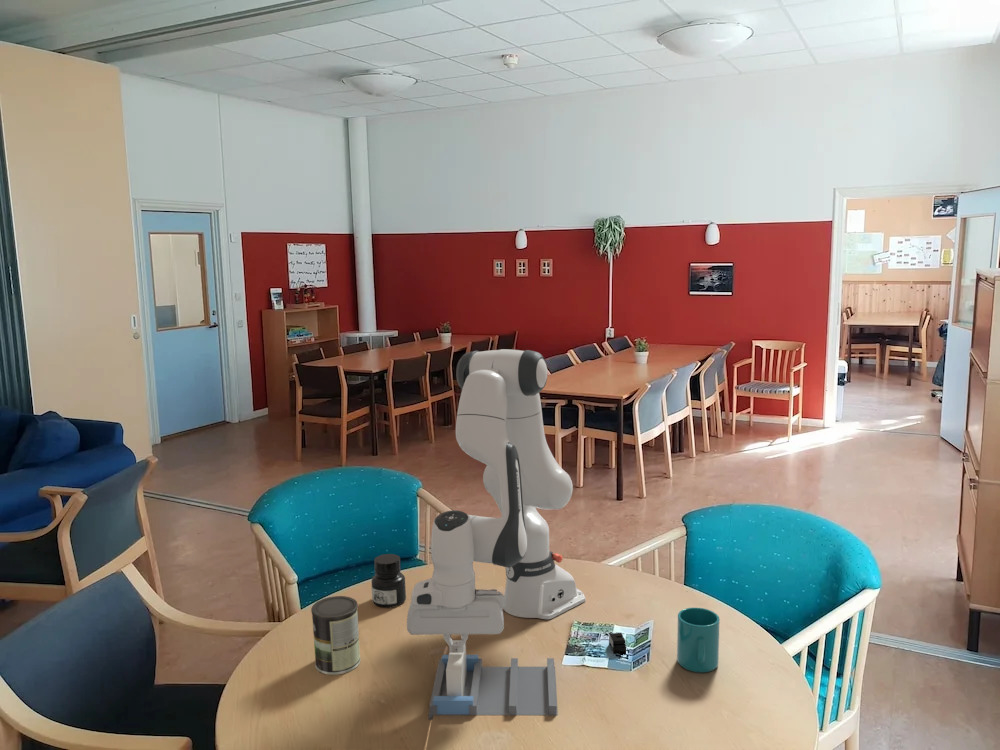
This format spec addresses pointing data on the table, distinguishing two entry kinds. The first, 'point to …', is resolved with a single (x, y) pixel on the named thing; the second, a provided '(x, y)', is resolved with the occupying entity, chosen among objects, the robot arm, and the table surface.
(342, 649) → the coffee can
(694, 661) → the cup
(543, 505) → the robot arm
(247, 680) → the table surface
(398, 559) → the ink bottle
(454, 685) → the plug block
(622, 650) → the black notched block
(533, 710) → the board
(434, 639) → the table surface
